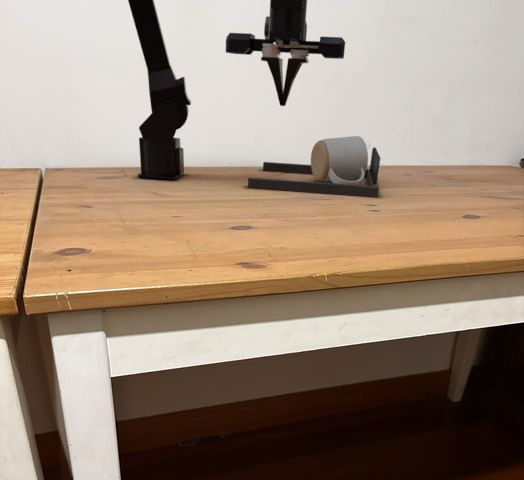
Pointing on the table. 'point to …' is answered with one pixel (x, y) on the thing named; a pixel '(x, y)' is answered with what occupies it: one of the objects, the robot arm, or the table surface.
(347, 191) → the dish rack
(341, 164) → the ceramic mug
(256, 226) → the table surface
